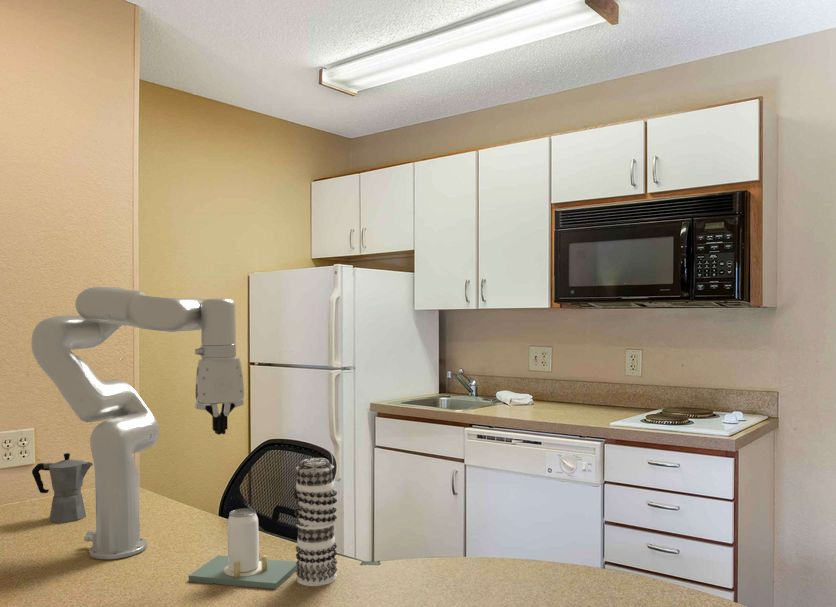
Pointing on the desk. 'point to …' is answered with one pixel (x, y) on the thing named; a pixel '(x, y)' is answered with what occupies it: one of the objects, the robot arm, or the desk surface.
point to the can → (243, 540)
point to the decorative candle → (315, 522)
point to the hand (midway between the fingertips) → (220, 433)
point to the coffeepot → (64, 488)
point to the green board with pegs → (262, 576)
